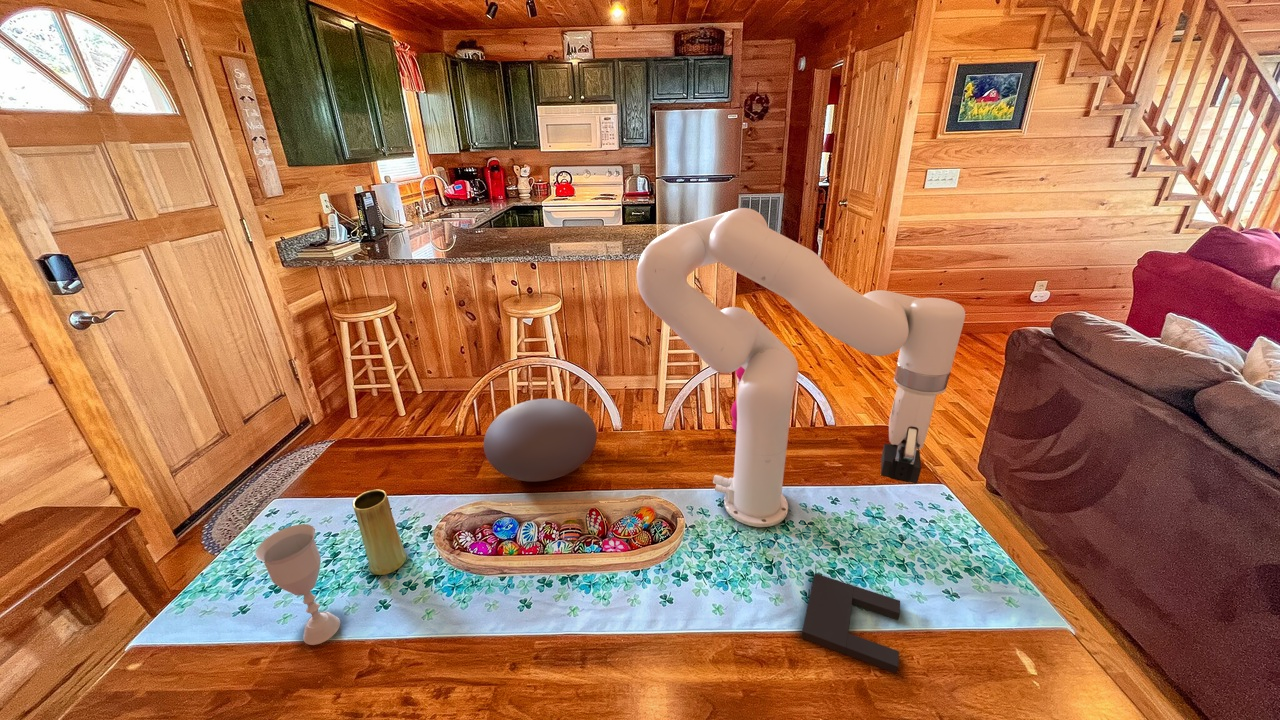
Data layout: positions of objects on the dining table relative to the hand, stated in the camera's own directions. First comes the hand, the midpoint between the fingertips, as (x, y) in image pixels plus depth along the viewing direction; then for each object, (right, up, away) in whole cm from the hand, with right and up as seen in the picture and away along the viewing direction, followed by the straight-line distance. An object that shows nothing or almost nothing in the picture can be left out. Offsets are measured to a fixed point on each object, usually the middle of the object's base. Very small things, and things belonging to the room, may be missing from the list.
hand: (898, 467), depth 88 cm
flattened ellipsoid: (-67, -6, +29) cm, 73 cm away
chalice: (-95, -23, -9) cm, 98 cm away
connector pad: (0, -1, 0) cm, 1 cm away
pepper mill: (-18, +1, +41) cm, 45 cm away
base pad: (-12, -22, -10) cm, 27 cm away
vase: (-90, -18, +3) cm, 92 cm away
